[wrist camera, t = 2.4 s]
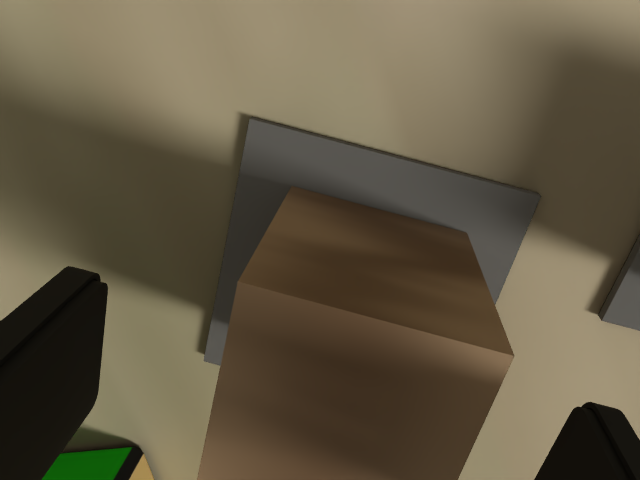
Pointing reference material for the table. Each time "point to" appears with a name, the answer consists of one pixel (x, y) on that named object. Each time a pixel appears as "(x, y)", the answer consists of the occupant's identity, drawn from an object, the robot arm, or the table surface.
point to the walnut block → (355, 350)
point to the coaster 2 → (625, 294)
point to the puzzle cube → (101, 465)
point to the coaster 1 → (362, 203)
